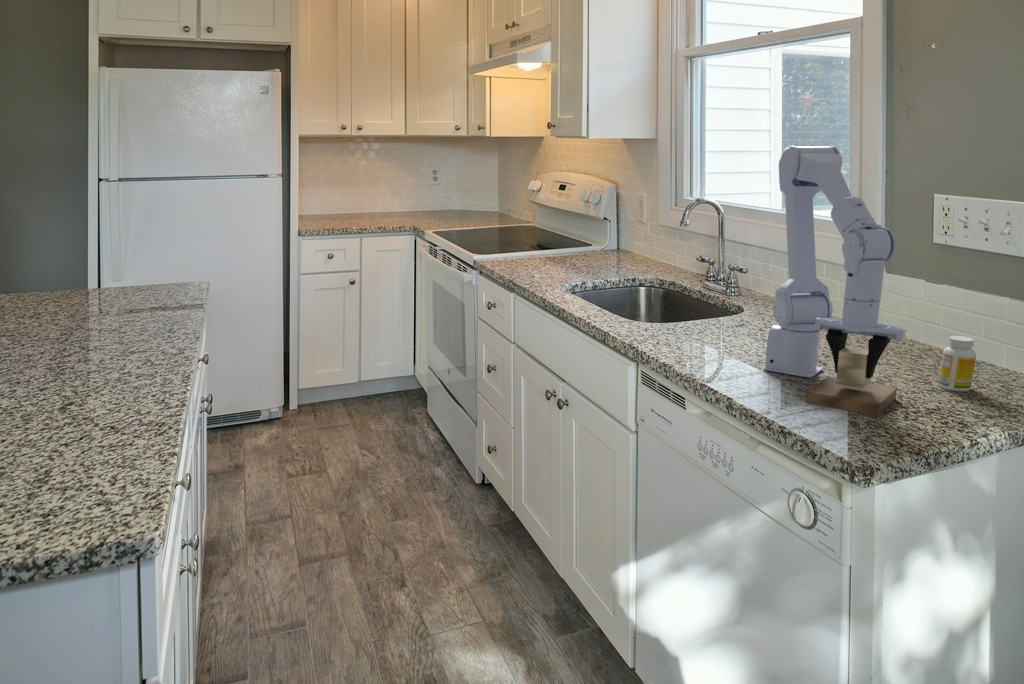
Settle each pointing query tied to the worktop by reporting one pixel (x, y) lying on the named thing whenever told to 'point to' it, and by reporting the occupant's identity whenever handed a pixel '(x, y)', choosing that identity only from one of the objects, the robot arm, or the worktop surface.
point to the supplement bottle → (958, 364)
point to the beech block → (852, 367)
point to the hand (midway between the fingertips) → (853, 374)
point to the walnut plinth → (852, 396)
